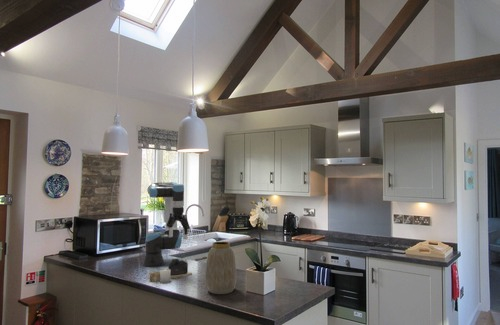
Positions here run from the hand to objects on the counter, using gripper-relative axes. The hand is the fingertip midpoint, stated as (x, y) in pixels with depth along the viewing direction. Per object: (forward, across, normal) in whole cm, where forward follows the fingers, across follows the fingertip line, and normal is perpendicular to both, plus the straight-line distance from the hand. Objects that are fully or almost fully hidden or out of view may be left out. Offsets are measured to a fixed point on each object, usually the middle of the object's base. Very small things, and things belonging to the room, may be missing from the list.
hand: (177, 238), depth 248 cm
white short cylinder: (+23, +10, -20) cm, 32 cm away
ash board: (+23, +6, -6) cm, 24 cm away
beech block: (+23, +3, -22) cm, 32 cm away
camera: (+22, +6, -6) cm, 24 cm away
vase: (+22, +51, -14) cm, 57 cm away
